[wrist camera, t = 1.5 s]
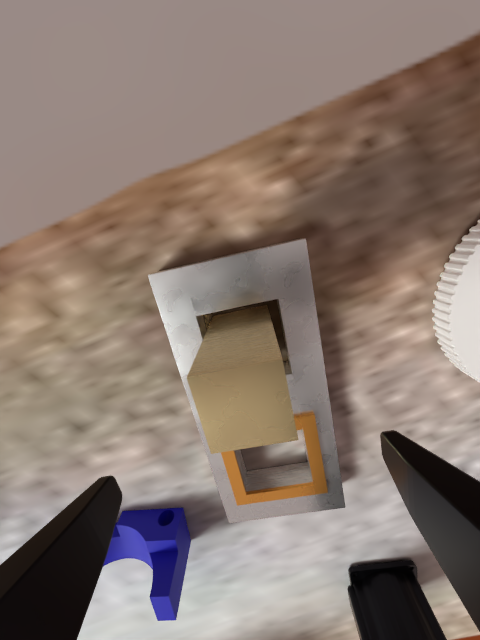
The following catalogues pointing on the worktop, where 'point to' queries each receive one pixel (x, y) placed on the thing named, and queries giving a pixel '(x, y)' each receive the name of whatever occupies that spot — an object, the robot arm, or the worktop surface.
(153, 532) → the blue curved block
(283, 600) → the worktop surface
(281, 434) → the beige rectangular block
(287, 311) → the grey plate with holes
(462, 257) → the plastic lid
